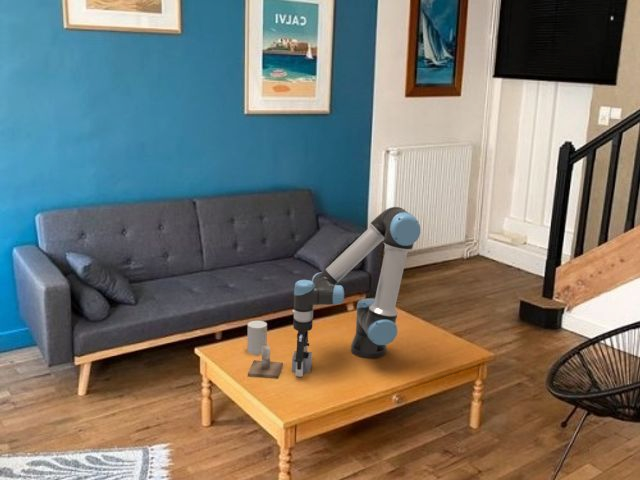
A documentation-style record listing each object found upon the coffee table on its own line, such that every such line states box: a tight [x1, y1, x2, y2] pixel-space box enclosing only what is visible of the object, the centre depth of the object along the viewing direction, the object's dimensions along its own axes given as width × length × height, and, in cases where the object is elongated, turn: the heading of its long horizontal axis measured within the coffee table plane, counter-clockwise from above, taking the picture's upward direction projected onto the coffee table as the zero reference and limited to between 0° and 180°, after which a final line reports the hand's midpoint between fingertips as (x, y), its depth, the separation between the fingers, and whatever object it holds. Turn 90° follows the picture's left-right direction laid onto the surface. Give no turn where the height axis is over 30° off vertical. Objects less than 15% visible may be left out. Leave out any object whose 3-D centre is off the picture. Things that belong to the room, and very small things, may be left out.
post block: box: [247, 344, 284, 379], centre depth 269 cm, size 12×12×10 cm
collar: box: [291, 350, 313, 374], centre depth 272 cm, size 7×7×6 cm
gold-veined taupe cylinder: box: [246, 320, 268, 356], centre depth 287 cm, size 8×8×12 cm
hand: (301, 368), depth 273 cm, fingers open, 13 cm apart
